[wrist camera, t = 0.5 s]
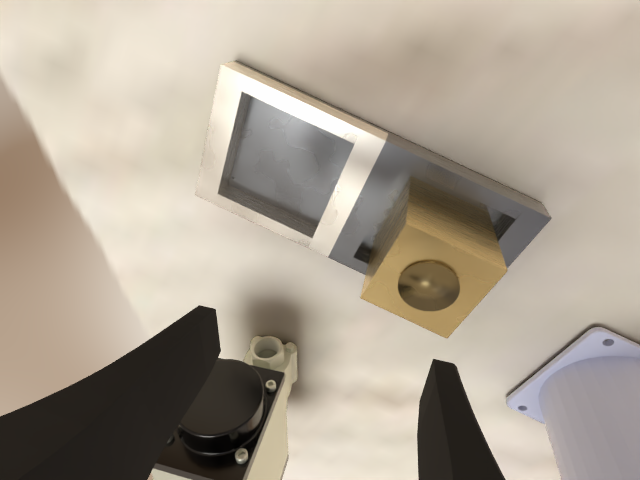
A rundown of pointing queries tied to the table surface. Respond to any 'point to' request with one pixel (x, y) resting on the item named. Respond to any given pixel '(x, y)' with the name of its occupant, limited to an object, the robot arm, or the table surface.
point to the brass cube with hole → (433, 259)
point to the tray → (331, 171)
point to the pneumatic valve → (236, 420)
